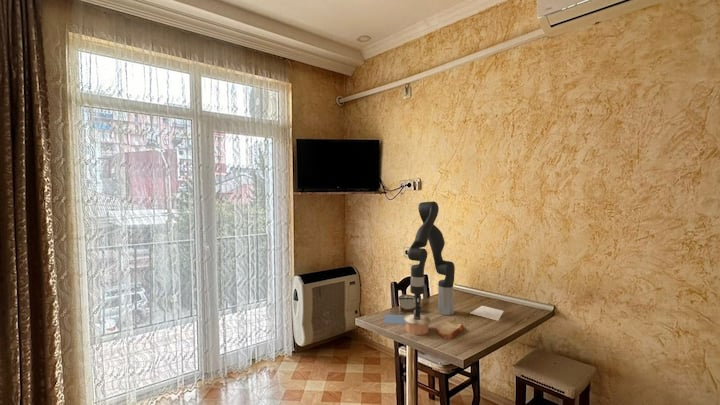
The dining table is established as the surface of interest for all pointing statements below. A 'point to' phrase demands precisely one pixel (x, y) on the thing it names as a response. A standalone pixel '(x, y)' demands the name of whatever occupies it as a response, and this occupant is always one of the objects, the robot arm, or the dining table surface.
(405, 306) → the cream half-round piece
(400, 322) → the mat
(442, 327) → the bread slice
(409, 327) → the bowl
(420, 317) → the lid
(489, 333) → the dining table surface
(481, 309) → the paper sheet
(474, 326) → the dining table surface
